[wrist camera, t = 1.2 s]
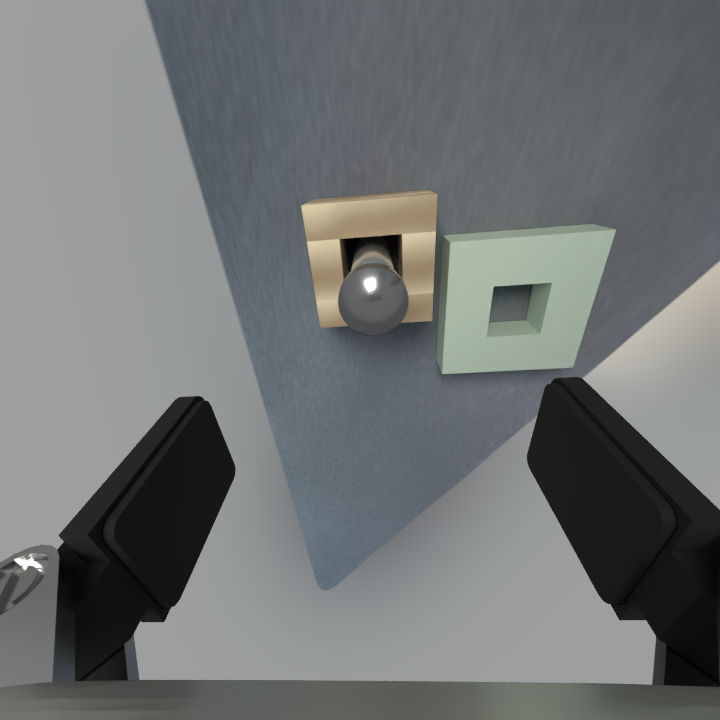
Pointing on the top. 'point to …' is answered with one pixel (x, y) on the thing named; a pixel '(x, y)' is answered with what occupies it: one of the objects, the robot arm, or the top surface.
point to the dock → (547, 302)
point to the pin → (373, 290)
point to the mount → (366, 219)
